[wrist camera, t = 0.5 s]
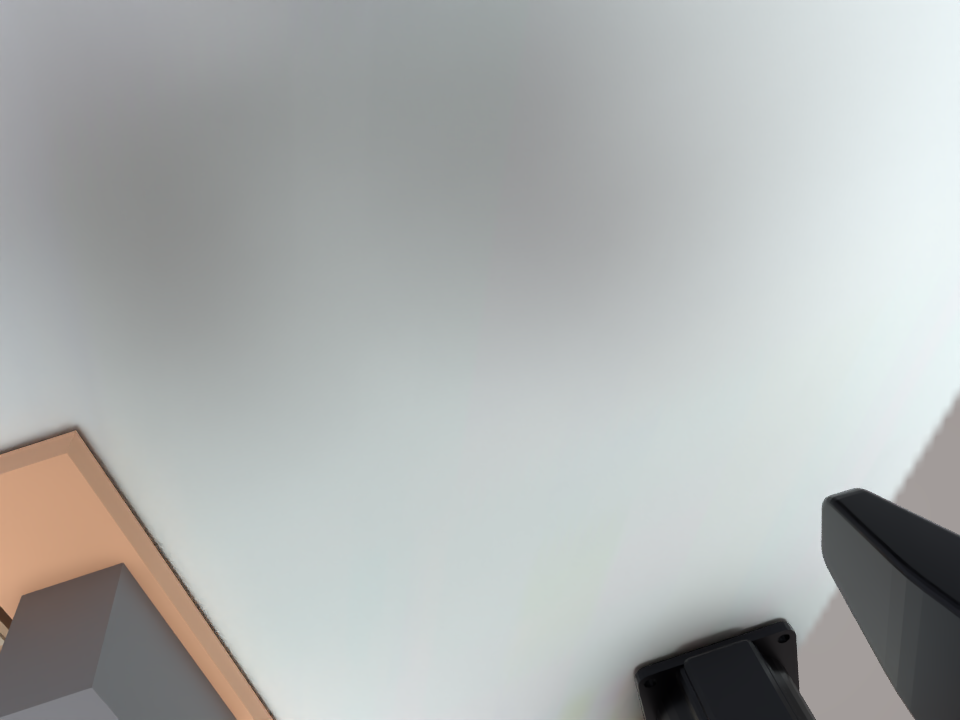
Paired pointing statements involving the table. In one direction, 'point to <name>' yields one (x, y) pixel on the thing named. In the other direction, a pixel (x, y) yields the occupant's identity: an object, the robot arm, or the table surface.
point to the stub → (98, 605)
